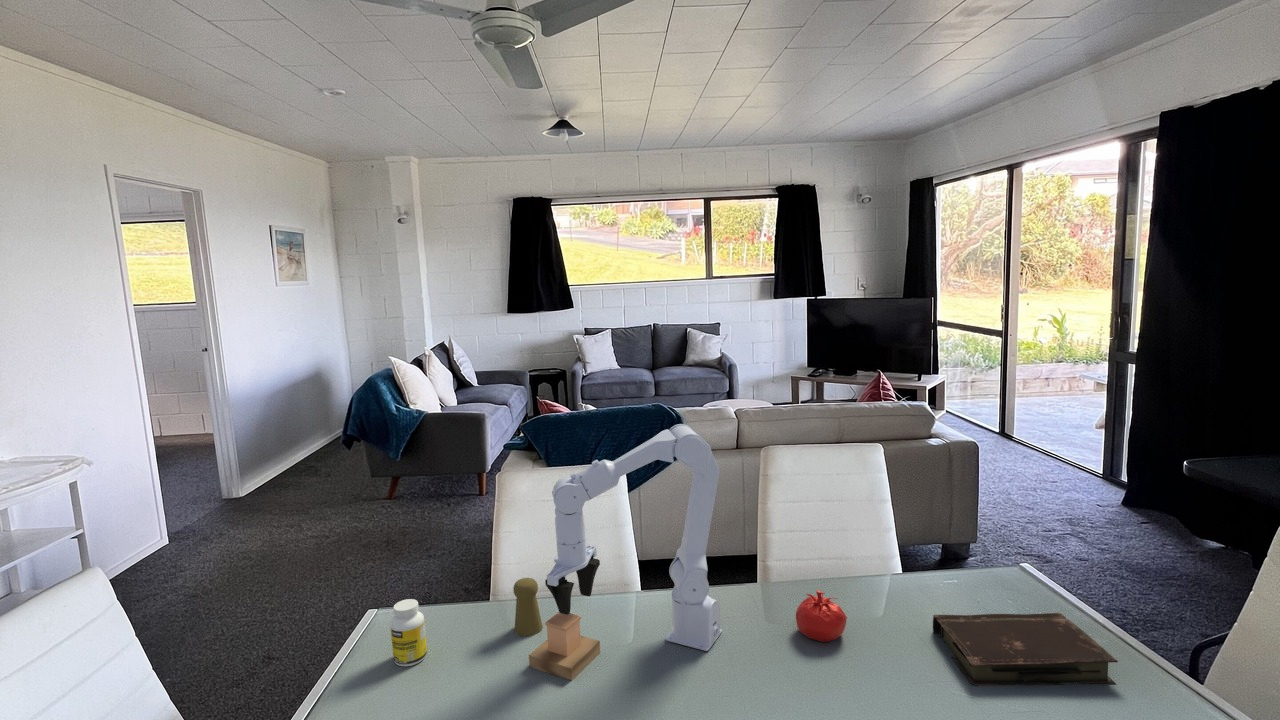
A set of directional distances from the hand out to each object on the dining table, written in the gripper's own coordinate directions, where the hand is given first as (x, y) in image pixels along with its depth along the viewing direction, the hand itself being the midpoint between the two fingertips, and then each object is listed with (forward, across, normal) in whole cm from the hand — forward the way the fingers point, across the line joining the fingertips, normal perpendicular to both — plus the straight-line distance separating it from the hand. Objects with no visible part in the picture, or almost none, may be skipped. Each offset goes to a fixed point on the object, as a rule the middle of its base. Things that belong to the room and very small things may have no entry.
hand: (575, 603), depth 131 cm
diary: (+12, -33, +78) cm, 85 cm away
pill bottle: (+10, +16, -30) cm, 36 cm away
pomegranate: (+11, -26, +42) cm, 51 cm away
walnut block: (+10, +4, -1) cm, 11 cm away
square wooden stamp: (+8, +3, -1) cm, 8 cm away
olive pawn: (+10, -3, -15) cm, 18 cm away
